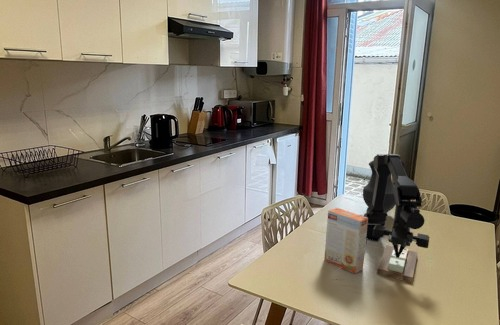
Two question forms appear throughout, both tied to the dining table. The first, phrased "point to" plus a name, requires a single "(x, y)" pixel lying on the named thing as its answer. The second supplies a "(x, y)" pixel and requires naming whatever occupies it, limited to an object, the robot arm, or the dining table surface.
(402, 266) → the tile one
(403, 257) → the tile two
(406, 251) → the tile three
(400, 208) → the robot arm
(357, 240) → the cracker box
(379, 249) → the dining table surface
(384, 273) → the frame board
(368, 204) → the pitcher
